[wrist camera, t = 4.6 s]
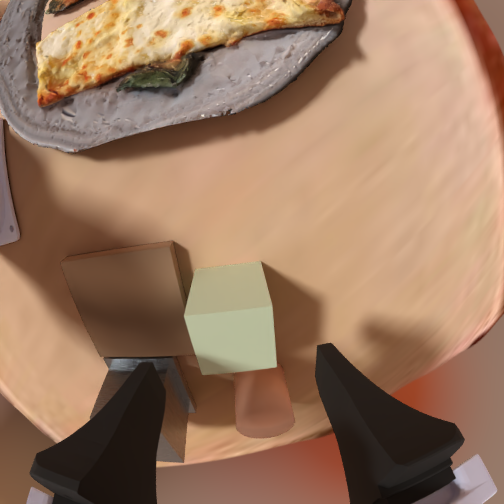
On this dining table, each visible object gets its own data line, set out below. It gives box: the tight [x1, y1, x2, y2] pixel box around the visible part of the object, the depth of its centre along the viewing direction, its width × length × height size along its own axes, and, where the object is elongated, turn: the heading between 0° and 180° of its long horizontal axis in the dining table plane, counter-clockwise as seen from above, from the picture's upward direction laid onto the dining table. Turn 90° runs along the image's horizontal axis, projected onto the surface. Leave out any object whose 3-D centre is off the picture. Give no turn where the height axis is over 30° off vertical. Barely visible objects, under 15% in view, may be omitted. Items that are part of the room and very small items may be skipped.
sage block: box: [184, 261, 277, 375], centre depth 15 cm, size 4×4×5 cm
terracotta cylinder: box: [234, 362, 295, 438], centre depth 18 cm, size 4×4×5 cm
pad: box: [60, 241, 195, 357], centre depth 17 cm, size 8×8×1 cm
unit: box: [90, 356, 196, 463], centre depth 17 cm, size 7×6×6 cm
